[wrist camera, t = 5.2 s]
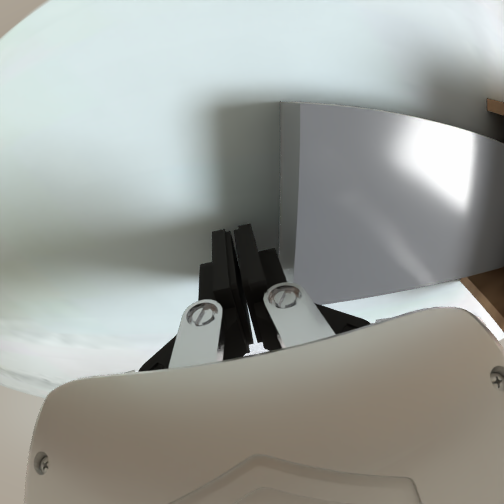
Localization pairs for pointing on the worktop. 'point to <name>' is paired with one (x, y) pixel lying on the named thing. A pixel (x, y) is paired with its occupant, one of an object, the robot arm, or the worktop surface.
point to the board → (384, 201)
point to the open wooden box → (495, 281)
